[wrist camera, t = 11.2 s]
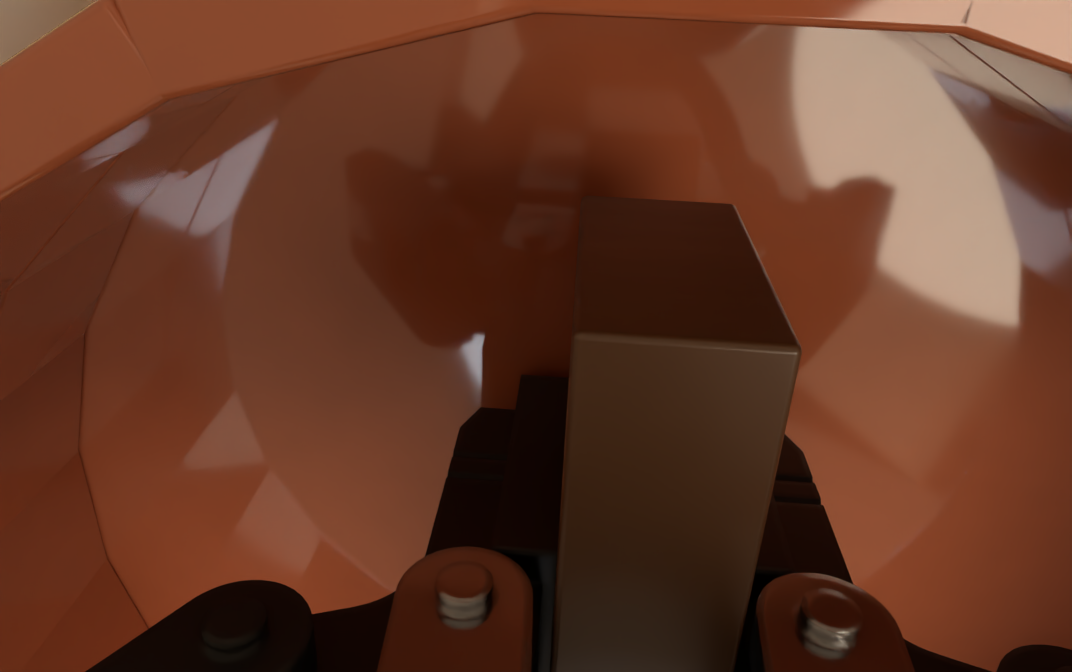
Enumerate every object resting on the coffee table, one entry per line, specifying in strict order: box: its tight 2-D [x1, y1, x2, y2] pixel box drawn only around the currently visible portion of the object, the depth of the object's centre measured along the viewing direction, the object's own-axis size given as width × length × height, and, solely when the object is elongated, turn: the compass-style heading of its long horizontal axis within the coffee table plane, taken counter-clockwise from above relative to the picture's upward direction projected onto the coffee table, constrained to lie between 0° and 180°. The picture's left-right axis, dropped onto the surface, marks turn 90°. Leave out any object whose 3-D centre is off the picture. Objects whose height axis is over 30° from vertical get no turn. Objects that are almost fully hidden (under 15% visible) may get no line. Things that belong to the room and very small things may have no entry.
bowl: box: [0, 0, 1072, 672], centre depth 10 cm, size 17×17×6 cm
